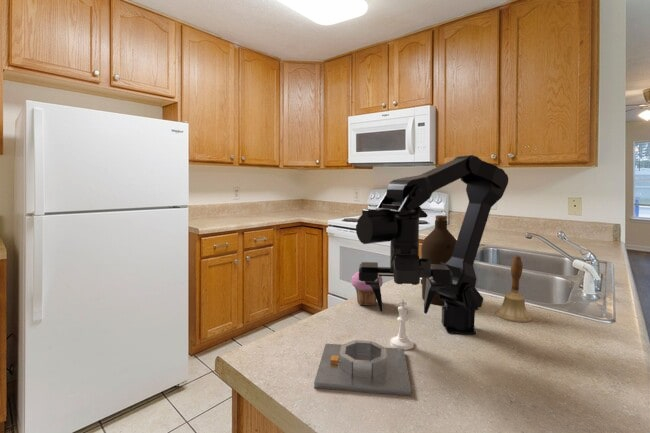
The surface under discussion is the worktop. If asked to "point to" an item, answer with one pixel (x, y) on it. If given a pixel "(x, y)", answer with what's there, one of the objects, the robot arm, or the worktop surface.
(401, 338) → the chess piece
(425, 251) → the olive oil
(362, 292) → the cupcake
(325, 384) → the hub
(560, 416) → the worktop surface
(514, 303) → the hand bell
